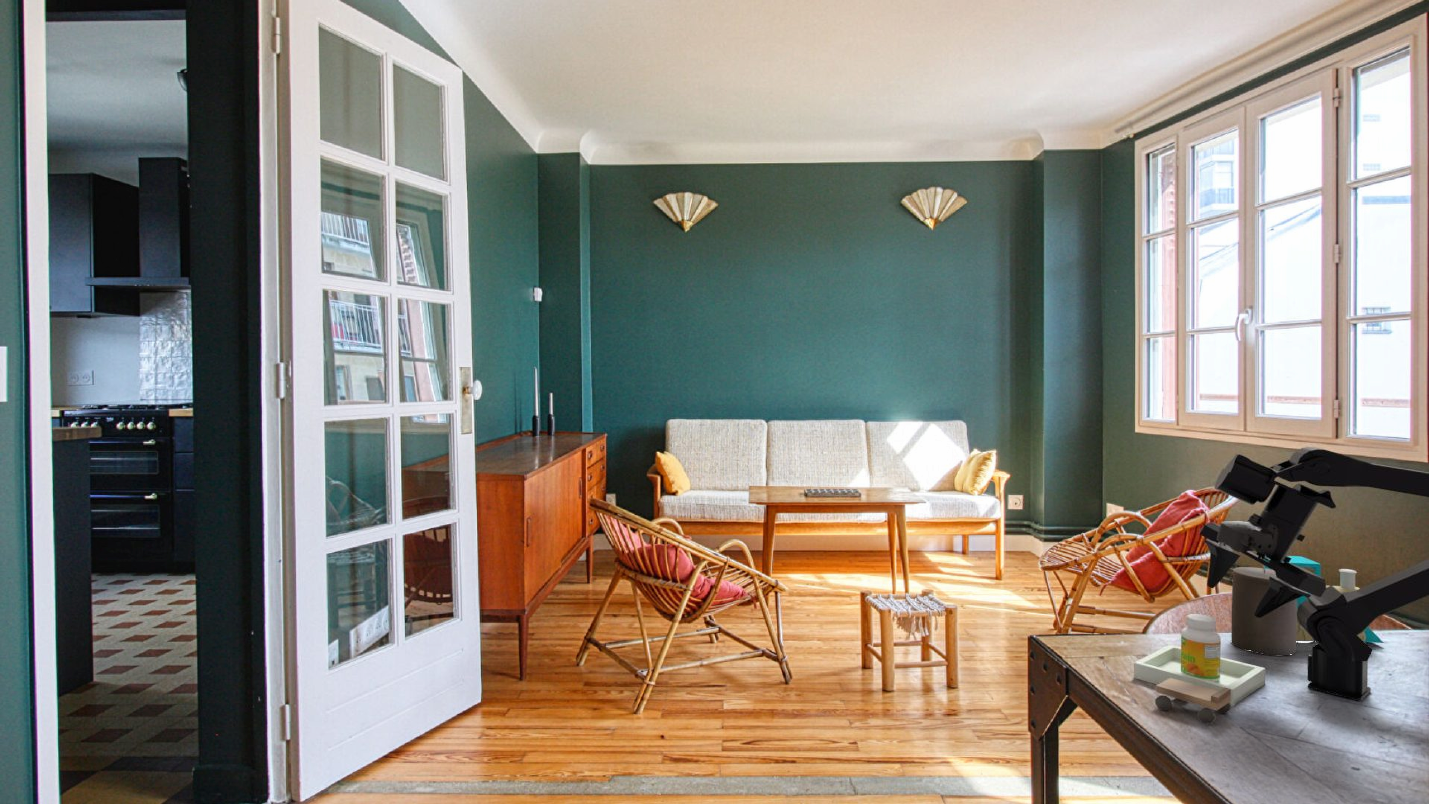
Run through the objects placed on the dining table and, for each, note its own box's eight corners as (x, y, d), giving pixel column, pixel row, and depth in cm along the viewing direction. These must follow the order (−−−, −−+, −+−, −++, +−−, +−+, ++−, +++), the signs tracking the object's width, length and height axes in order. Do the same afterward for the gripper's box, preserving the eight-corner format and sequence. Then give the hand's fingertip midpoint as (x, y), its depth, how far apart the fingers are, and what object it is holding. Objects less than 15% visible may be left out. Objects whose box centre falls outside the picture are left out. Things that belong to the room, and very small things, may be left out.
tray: (1265, 683, 120) (1265, 668, 120) (1232, 706, 112) (1232, 689, 111) (1170, 658, 131) (1170, 644, 131) (1133, 677, 123) (1134, 662, 123)
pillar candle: (1232, 650, 135) (1234, 568, 135) (1229, 634, 144) (1231, 557, 143) (1300, 661, 130) (1302, 575, 130) (1292, 644, 139) (1295, 564, 138)
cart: (1232, 714, 109) (1232, 687, 109) (1215, 726, 105) (1215, 699, 105) (1172, 696, 115) (1172, 671, 115) (1153, 707, 111) (1153, 681, 111)
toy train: (1386, 649, 136) (1387, 567, 136) (1282, 643, 139) (1283, 563, 139) (1359, 635, 144) (1360, 557, 143) (1261, 630, 147) (1262, 554, 147)
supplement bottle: (1172, 671, 124) (1173, 612, 124) (1203, 670, 124) (1204, 612, 124) (1196, 684, 118) (1197, 622, 118) (1228, 682, 119) (1229, 622, 119)
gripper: (1200, 482, 127) (1154, 561, 130) (1301, 530, 109) (1245, 621, 112) (1246, 501, 130) (1200, 578, 133) (1352, 551, 112) (1297, 639, 115)
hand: (1232, 601), depth 123 cm, fingers open, 9 cm apart
